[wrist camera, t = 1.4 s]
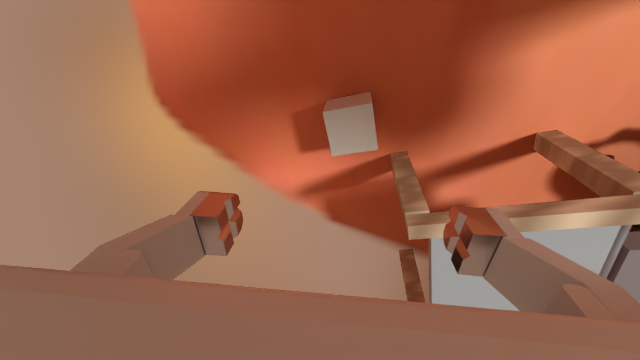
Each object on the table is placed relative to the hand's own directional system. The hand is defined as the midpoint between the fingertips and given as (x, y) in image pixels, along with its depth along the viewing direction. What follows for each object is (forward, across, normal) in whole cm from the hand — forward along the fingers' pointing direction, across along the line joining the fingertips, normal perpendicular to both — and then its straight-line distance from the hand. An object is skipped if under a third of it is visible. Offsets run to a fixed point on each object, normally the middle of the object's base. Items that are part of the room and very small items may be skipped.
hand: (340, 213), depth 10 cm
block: (+22, -1, +3) cm, 23 cm away
